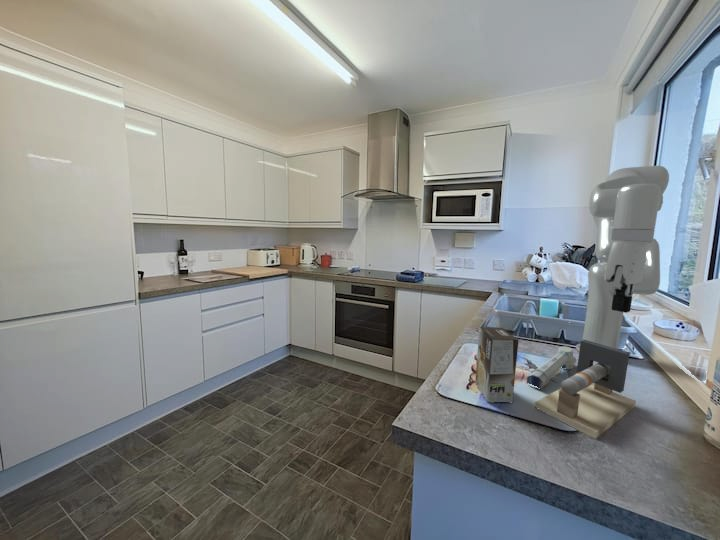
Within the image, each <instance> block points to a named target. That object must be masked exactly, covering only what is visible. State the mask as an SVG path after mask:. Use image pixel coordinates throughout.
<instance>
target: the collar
mask: <svg viewBox="0 0 720 540" xmlns="http://www.w3.org/2000/svg"><path fill="white" fill-rule="evenodd" d="M579 344H580V351H578V352H579V353H578V359H577V367H576V373H578V372H581V371H583V370H585V369H587V368H589V367H591V366H593V365H594V362H596V363H602V364H605V365H608V366H610V372H609V378H608V379H607V378H604V377H603V378H601V379H599V380H597V381H596V382H594V383H593V384H594V385H595V384H598V385H600V386H603V387H606V388H608V389H611V390H612V391H613V392H615V393H618V394H621V393H623V392H624V389H625V385H626V378H627V371H628V366H629V360H630V355H631V354H630V353H631V352H629V351H627V350H626V351H625V350H622V349H619V348H618V349H616V348H612V347H609V346H605V345H602V344H598V343H595V342H591V341H588V340H583V339H582V340H580V343H579Z"/></svg>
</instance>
